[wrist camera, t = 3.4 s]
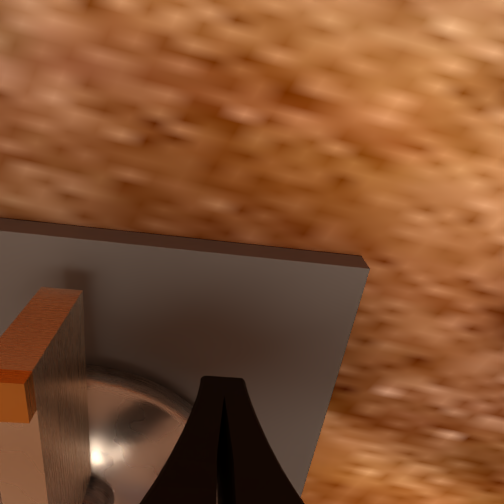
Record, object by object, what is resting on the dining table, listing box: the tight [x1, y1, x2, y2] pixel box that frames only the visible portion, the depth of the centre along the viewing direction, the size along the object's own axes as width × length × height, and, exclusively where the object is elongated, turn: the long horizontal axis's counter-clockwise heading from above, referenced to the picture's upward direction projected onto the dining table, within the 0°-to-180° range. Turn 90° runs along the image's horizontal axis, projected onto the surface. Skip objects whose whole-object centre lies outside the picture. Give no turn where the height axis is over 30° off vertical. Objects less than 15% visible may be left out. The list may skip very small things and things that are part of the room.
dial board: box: [0, 218, 370, 497], centre depth 17 cm, size 19×21×1 cm
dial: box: [0, 287, 193, 504], centre depth 14 cm, size 16×12×5 cm
